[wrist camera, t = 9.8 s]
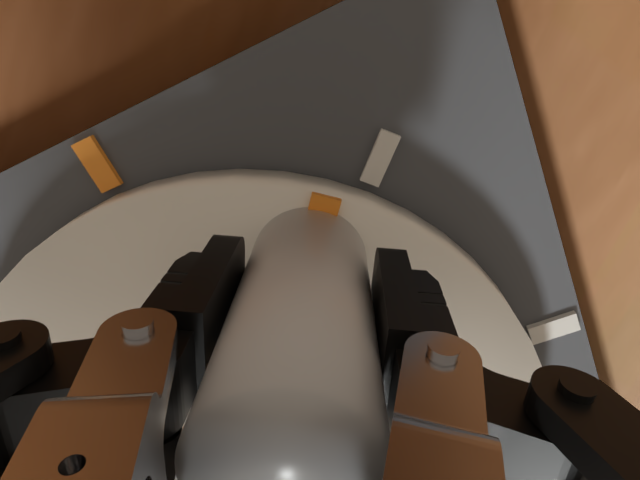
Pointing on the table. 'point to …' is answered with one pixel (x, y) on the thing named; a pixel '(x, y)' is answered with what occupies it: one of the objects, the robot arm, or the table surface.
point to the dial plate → (346, 144)
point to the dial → (268, 312)
